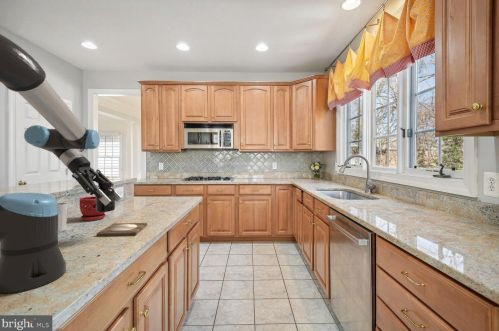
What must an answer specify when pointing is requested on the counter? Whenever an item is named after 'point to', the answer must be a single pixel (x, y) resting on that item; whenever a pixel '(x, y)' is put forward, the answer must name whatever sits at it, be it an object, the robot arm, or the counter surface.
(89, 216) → the plant pot
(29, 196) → the robot arm
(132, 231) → the walnut board
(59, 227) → the cup
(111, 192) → the supplement bottle
